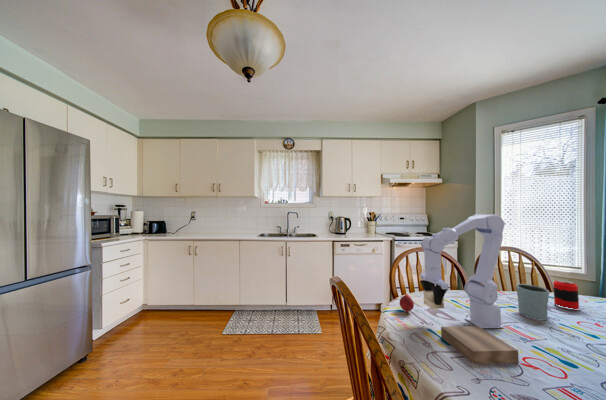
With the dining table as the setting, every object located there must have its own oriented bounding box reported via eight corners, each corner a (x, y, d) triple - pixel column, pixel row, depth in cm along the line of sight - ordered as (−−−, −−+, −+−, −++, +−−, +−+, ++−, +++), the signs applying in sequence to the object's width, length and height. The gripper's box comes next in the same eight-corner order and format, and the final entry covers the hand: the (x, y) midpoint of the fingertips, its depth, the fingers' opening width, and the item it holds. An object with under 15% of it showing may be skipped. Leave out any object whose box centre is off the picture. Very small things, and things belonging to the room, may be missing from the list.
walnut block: (478, 337, 80) (478, 326, 80) (518, 364, 66) (518, 350, 66) (441, 338, 79) (441, 326, 79) (473, 365, 65) (473, 351, 65)
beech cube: (435, 303, 91) (435, 290, 91) (443, 308, 86) (443, 295, 86) (423, 303, 91) (423, 290, 91) (431, 308, 86) (431, 295, 86)
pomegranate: (415, 315, 95) (415, 296, 96) (401, 314, 97) (401, 295, 97) (411, 310, 101) (411, 292, 102) (398, 308, 102) (398, 291, 103)
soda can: (558, 308, 105) (557, 282, 105) (551, 302, 111) (550, 278, 112) (582, 312, 101) (581, 285, 101) (574, 306, 107) (572, 280, 108)
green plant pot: (523, 309, 103) (522, 282, 104) (555, 318, 94) (553, 289, 95) (512, 313, 99) (511, 285, 100) (544, 323, 90) (543, 293, 91)
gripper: (413, 263, 96) (413, 295, 95) (434, 271, 82) (435, 309, 81) (429, 263, 97) (429, 294, 96) (453, 271, 82) (454, 309, 81)
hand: (433, 301), depth 88 cm, fingers closed on beech cube, 5 cm apart
